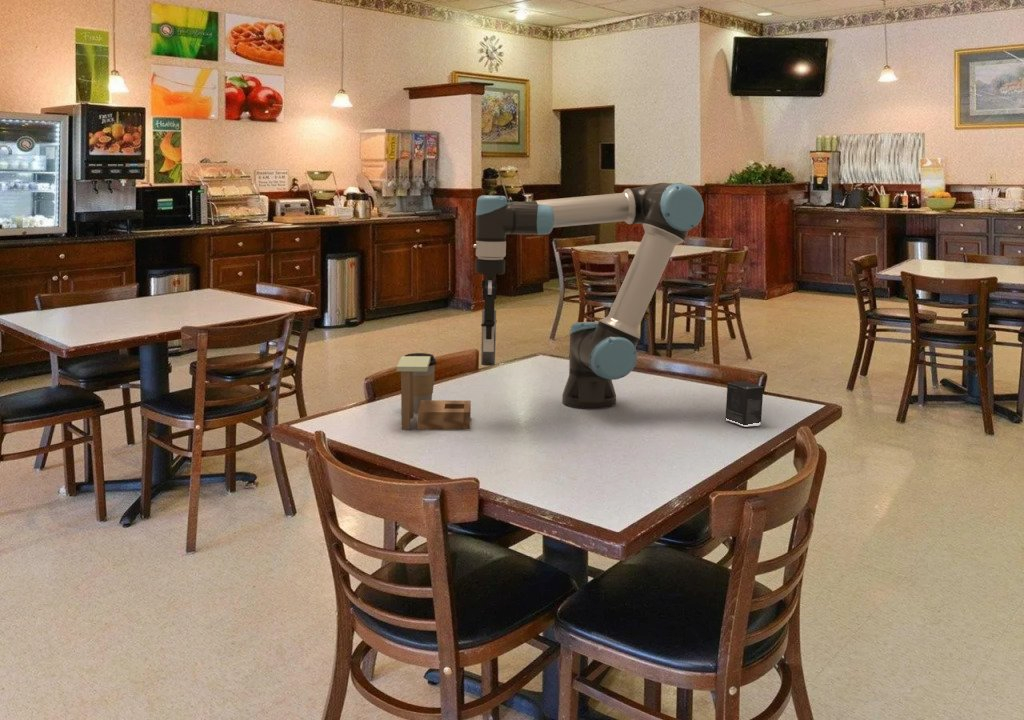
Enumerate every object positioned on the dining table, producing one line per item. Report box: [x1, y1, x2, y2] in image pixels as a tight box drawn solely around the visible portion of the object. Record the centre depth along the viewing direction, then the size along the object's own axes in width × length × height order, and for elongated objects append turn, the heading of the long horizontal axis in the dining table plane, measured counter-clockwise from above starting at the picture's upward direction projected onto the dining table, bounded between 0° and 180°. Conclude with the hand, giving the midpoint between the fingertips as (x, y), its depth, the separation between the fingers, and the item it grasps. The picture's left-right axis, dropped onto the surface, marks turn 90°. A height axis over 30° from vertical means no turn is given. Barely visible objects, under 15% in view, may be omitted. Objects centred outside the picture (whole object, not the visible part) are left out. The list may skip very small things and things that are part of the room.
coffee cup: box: [404, 352, 437, 414], centre depth 252 cm, size 9×9×15 cm
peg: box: [480, 308, 497, 367], centre depth 238 cm, size 4×4×14 cm
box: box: [725, 380, 764, 425], centre depth 243 cm, size 8×6×11 cm
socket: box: [416, 399, 472, 431], centre depth 241 cm, size 13×12×4 cm
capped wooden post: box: [396, 355, 430, 430], centre depth 239 cm, size 8×13×16 cm, turn 1°
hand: (488, 349), depth 239 cm, fingers closed on peg, 3 cm apart
